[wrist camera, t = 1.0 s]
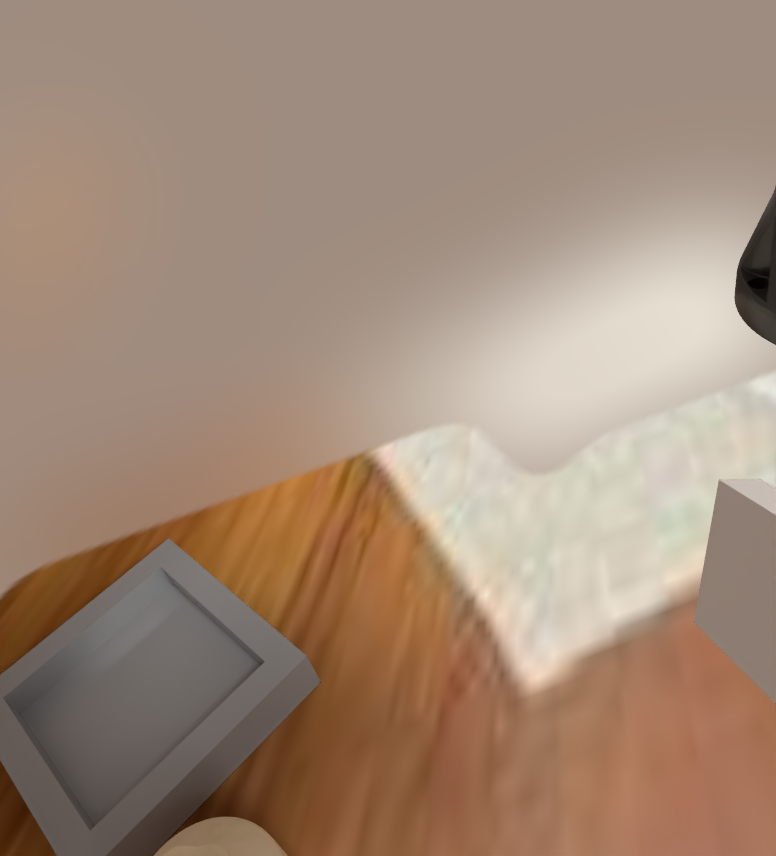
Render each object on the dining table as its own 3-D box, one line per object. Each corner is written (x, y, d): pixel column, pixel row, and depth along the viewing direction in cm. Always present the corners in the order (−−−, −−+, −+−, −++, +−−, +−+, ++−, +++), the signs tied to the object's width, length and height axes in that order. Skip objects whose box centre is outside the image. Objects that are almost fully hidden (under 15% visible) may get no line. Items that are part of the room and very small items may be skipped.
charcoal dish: (185, 564, 46) (168, 538, 44) (320, 681, 38) (306, 655, 36) (-7, 725, 40) (-34, 702, 38) (103, 905, 32) (75, 886, 30)
